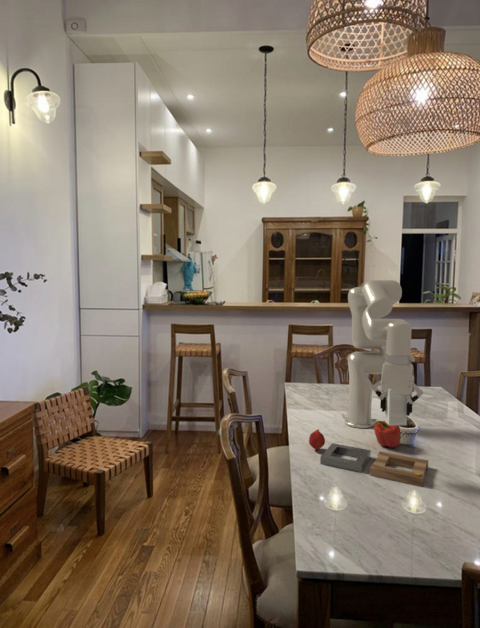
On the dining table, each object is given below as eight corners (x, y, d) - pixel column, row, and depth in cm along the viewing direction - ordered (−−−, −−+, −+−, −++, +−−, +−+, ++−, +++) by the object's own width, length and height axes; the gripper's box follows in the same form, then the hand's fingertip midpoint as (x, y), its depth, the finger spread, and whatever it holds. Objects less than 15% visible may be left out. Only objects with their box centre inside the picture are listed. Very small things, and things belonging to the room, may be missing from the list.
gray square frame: (332, 449, 167) (332, 443, 167) (370, 457, 161) (370, 450, 161) (320, 463, 155) (320, 456, 155) (361, 472, 149) (361, 465, 148)
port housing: (379, 458, 160) (379, 450, 160) (428, 467, 153) (428, 459, 152) (370, 475, 147) (370, 466, 146) (422, 486, 139) (423, 477, 139)
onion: (312, 453, 164) (313, 432, 163) (306, 447, 169) (306, 427, 168) (327, 452, 165) (327, 431, 164) (320, 446, 171) (320, 425, 170)
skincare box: (402, 421, 151) (403, 386, 150) (407, 425, 147) (408, 389, 146) (384, 421, 151) (385, 386, 150) (388, 425, 147) (389, 389, 146)
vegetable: (381, 452, 165) (382, 425, 164) (366, 442, 175) (367, 417, 174) (407, 449, 168) (408, 423, 167) (391, 439, 178) (391, 414, 177)
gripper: (428, 360, 146) (425, 413, 148) (373, 355, 154) (371, 405, 156) (425, 364, 140) (422, 420, 141) (368, 358, 148) (366, 411, 150)
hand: (396, 412), depth 149 cm, fingers closed on skincare box, 7 cm apart
